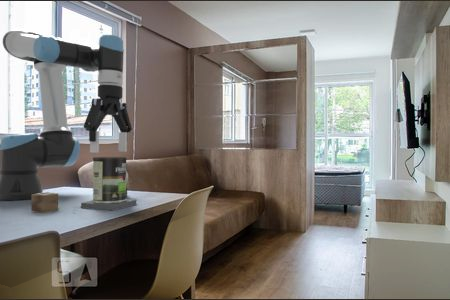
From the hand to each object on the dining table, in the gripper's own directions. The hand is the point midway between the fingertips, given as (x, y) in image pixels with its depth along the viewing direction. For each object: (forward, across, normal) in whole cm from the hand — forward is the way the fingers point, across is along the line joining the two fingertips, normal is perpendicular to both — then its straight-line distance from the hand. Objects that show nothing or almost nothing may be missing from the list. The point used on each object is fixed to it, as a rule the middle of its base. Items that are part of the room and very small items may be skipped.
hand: (109, 152), depth 113 cm
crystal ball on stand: (+18, +17, +9) cm, 26 cm away
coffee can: (+16, 0, -1) cm, 16 cm away
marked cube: (+18, -14, +11) cm, 25 cm away
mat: (+17, 0, -1) cm, 17 cm away
